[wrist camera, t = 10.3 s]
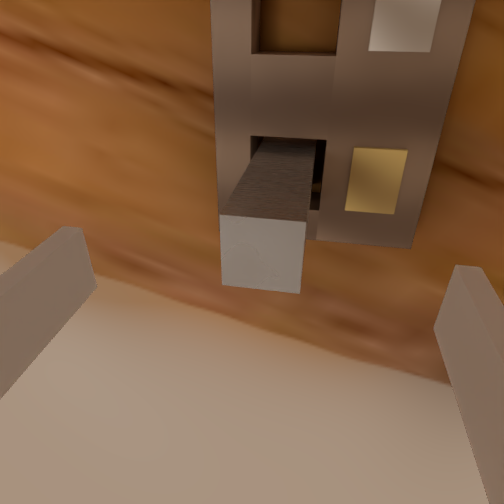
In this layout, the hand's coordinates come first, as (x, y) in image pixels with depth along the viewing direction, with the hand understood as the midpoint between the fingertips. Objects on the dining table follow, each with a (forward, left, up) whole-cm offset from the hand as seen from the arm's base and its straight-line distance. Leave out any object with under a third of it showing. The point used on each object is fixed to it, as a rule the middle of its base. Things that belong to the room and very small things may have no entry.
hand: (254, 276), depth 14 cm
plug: (0, 0, -15) cm, 15 cm away
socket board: (-4, +2, -15) cm, 16 cm away
